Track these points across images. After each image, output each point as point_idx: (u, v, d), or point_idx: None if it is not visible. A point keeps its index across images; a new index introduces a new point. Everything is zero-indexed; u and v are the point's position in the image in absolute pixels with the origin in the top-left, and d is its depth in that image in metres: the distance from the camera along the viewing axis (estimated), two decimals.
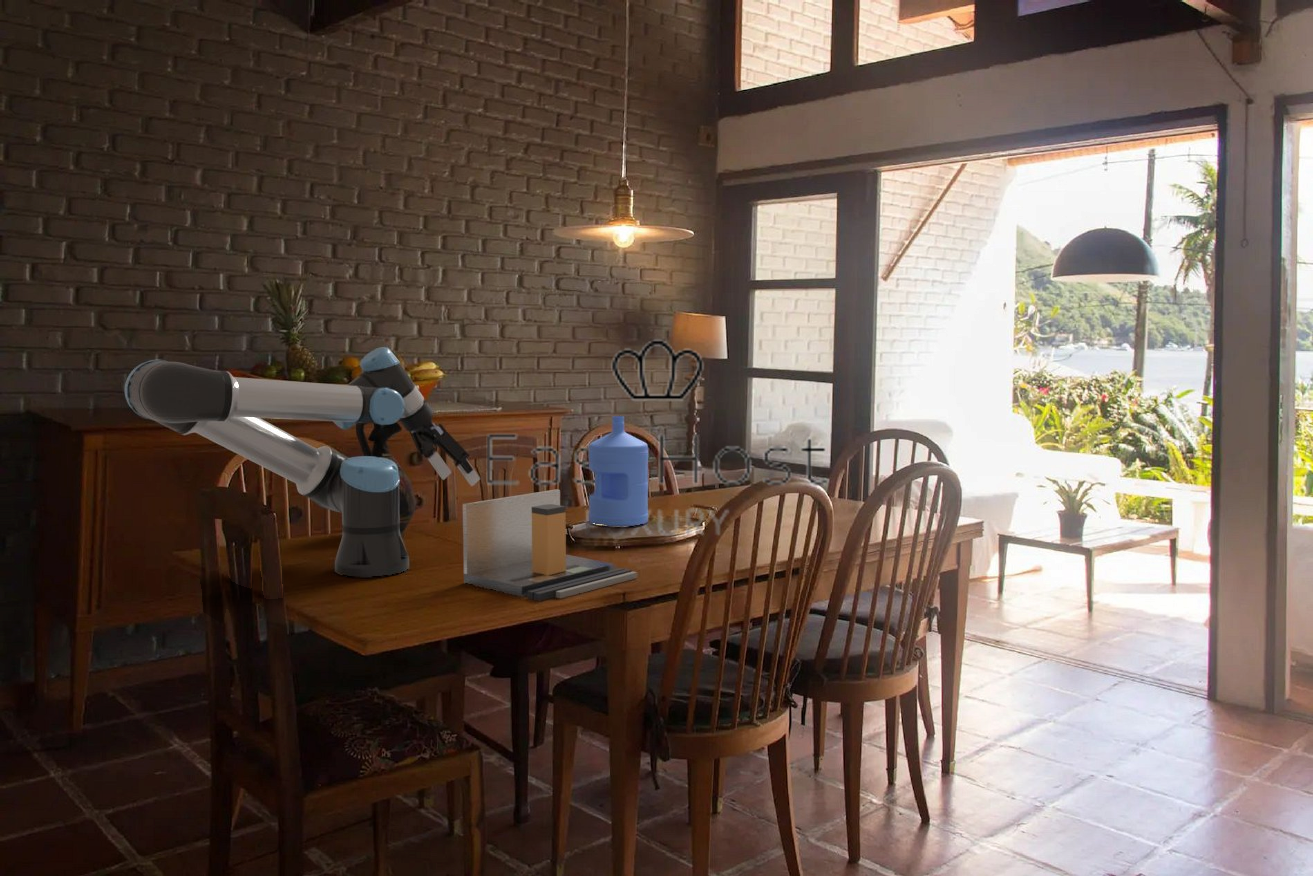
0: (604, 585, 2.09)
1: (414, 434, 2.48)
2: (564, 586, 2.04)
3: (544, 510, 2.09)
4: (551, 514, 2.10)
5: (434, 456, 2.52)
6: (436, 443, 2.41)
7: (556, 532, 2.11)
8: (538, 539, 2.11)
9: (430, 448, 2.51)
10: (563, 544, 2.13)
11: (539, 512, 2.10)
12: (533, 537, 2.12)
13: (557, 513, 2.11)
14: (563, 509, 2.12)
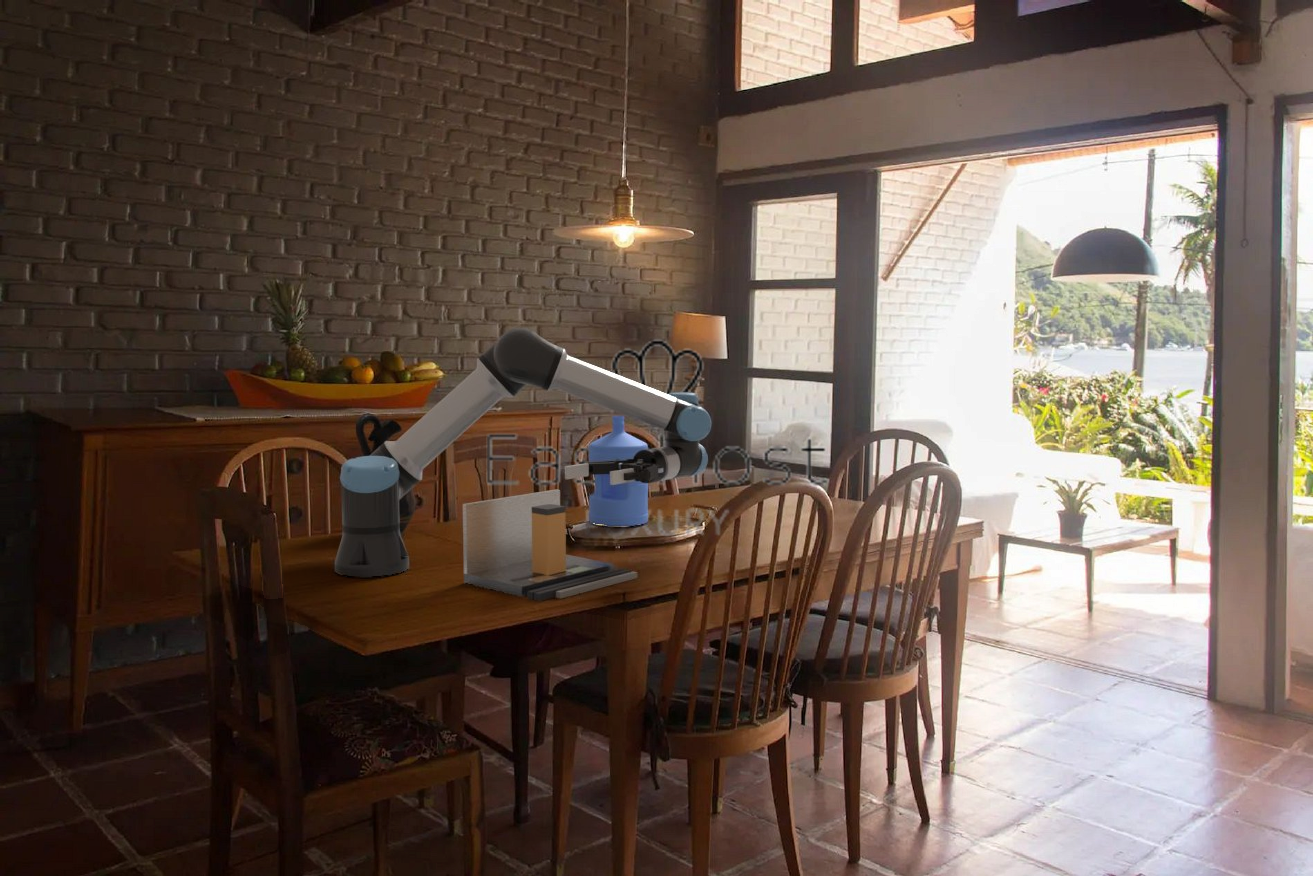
0: (604, 585, 2.09)
1: None
2: (564, 586, 2.04)
3: (544, 510, 2.09)
4: (551, 514, 2.10)
5: (587, 470, 2.29)
6: (642, 464, 2.27)
7: (556, 532, 2.11)
8: (538, 539, 2.11)
9: (597, 470, 2.30)
10: (563, 544, 2.13)
11: (539, 512, 2.10)
12: (533, 537, 2.12)
13: (557, 513, 2.11)
14: (563, 509, 2.12)
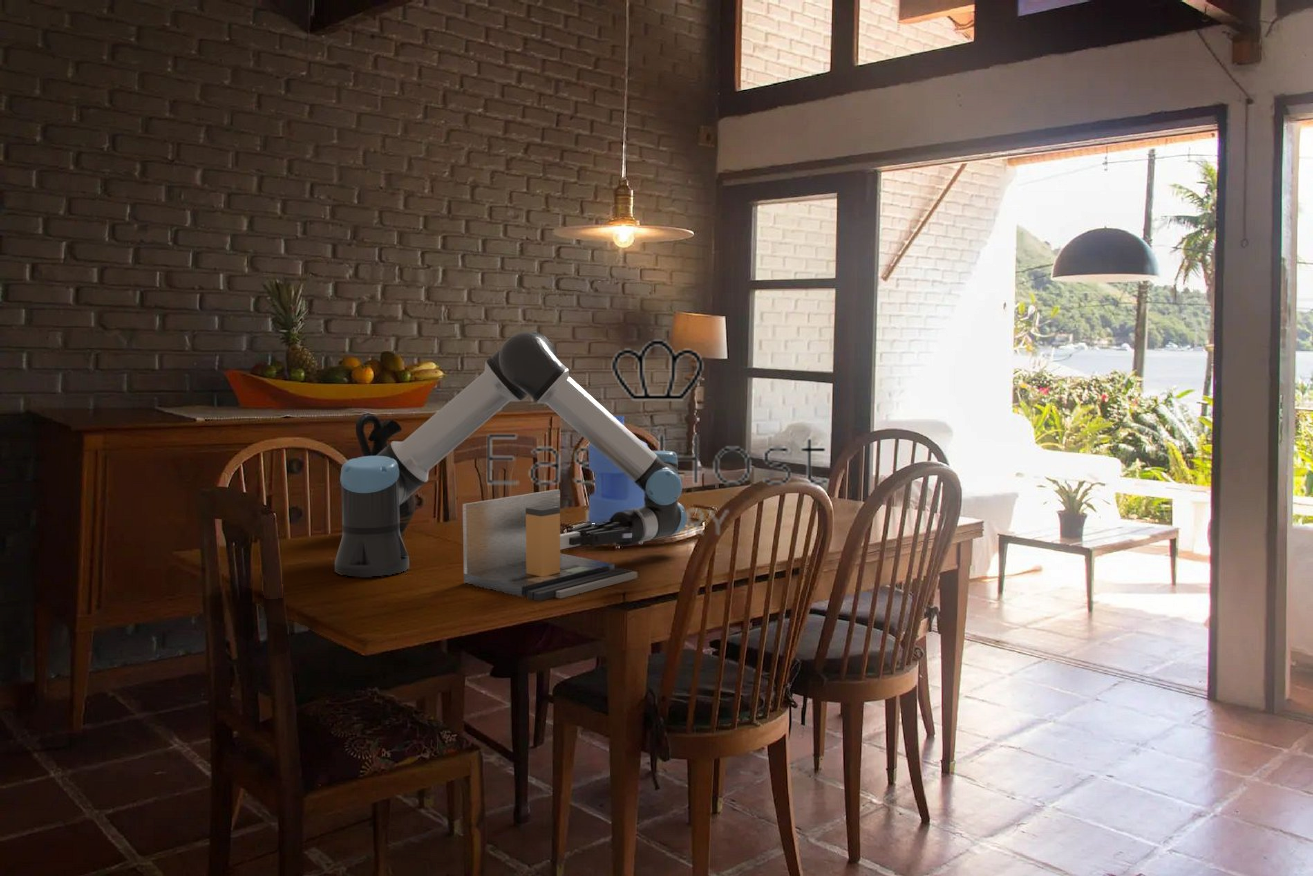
0: (604, 585, 2.09)
1: (590, 526, 2.27)
2: (564, 586, 2.04)
3: (538, 511, 2.08)
4: (545, 515, 2.08)
5: None
6: (607, 528, 2.22)
7: (550, 533, 2.10)
8: (532, 540, 2.10)
9: None
10: (557, 545, 2.11)
11: (533, 513, 2.09)
12: (527, 538, 2.10)
13: (551, 514, 2.09)
14: (558, 510, 2.11)
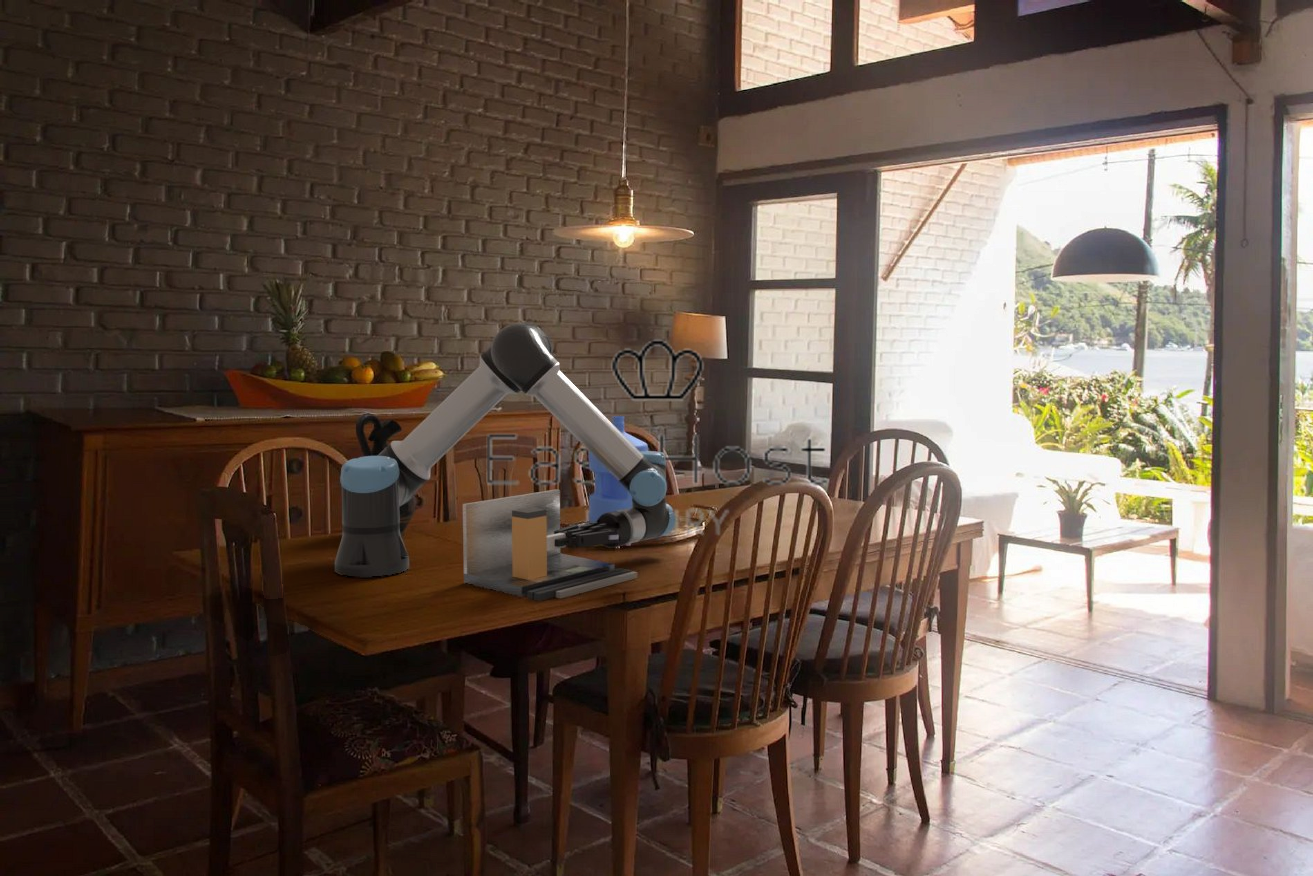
0: (604, 585, 2.09)
1: (576, 527, 2.24)
2: (564, 586, 2.04)
3: (524, 513, 2.05)
4: (532, 518, 2.06)
5: None
6: (593, 529, 2.20)
7: (536, 536, 2.07)
8: (518, 543, 2.07)
9: None
10: (544, 548, 2.09)
11: (519, 516, 2.06)
12: (513, 541, 2.08)
13: (538, 517, 2.07)
14: (544, 512, 2.08)
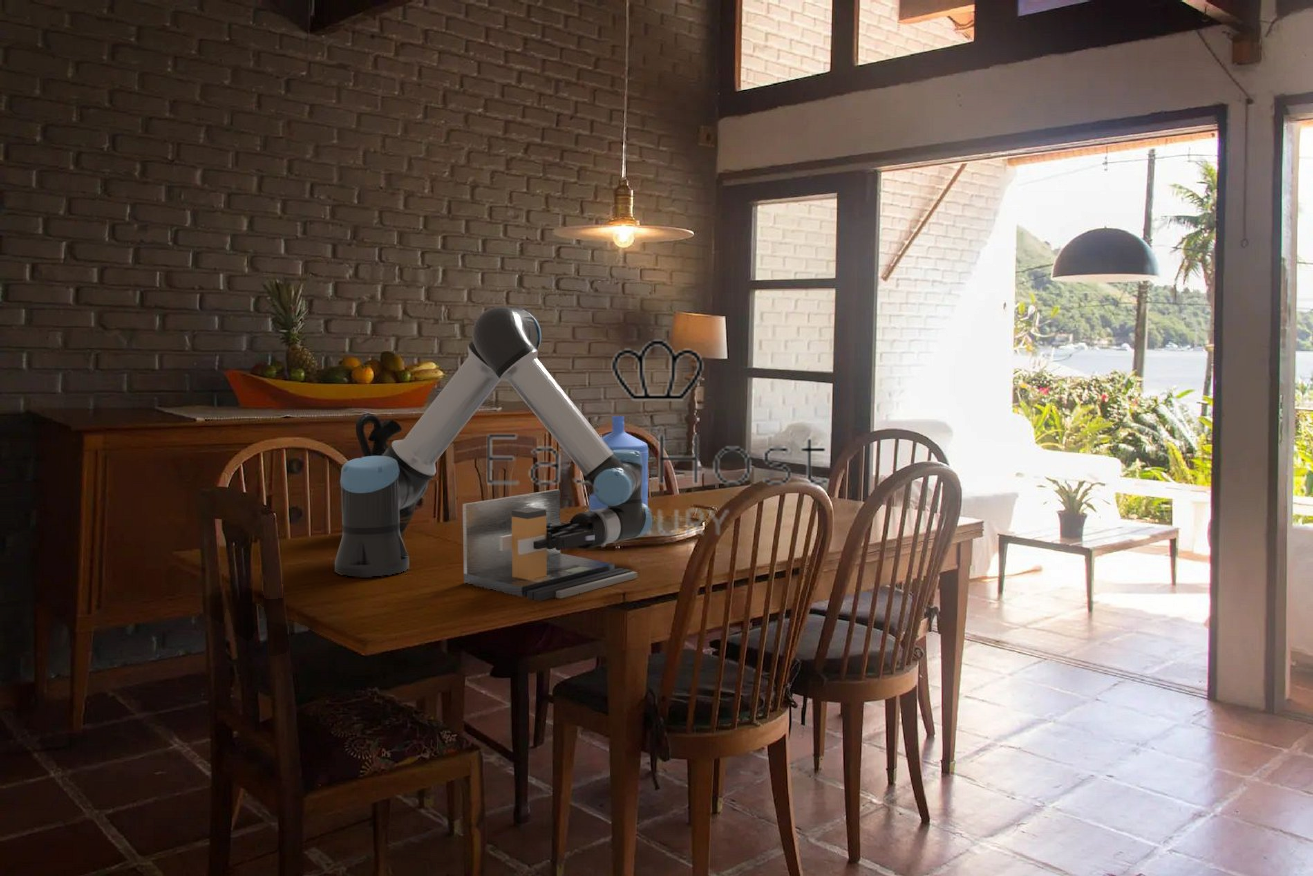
0: (604, 585, 2.09)
1: (548, 527, 2.19)
2: (564, 586, 2.04)
3: (524, 514, 2.05)
4: (531, 518, 2.06)
5: None
6: (569, 530, 2.13)
7: (536, 536, 2.07)
8: None
9: None
10: None
11: (519, 516, 2.06)
12: (513, 541, 2.08)
13: (537, 517, 2.07)
14: (544, 512, 2.08)
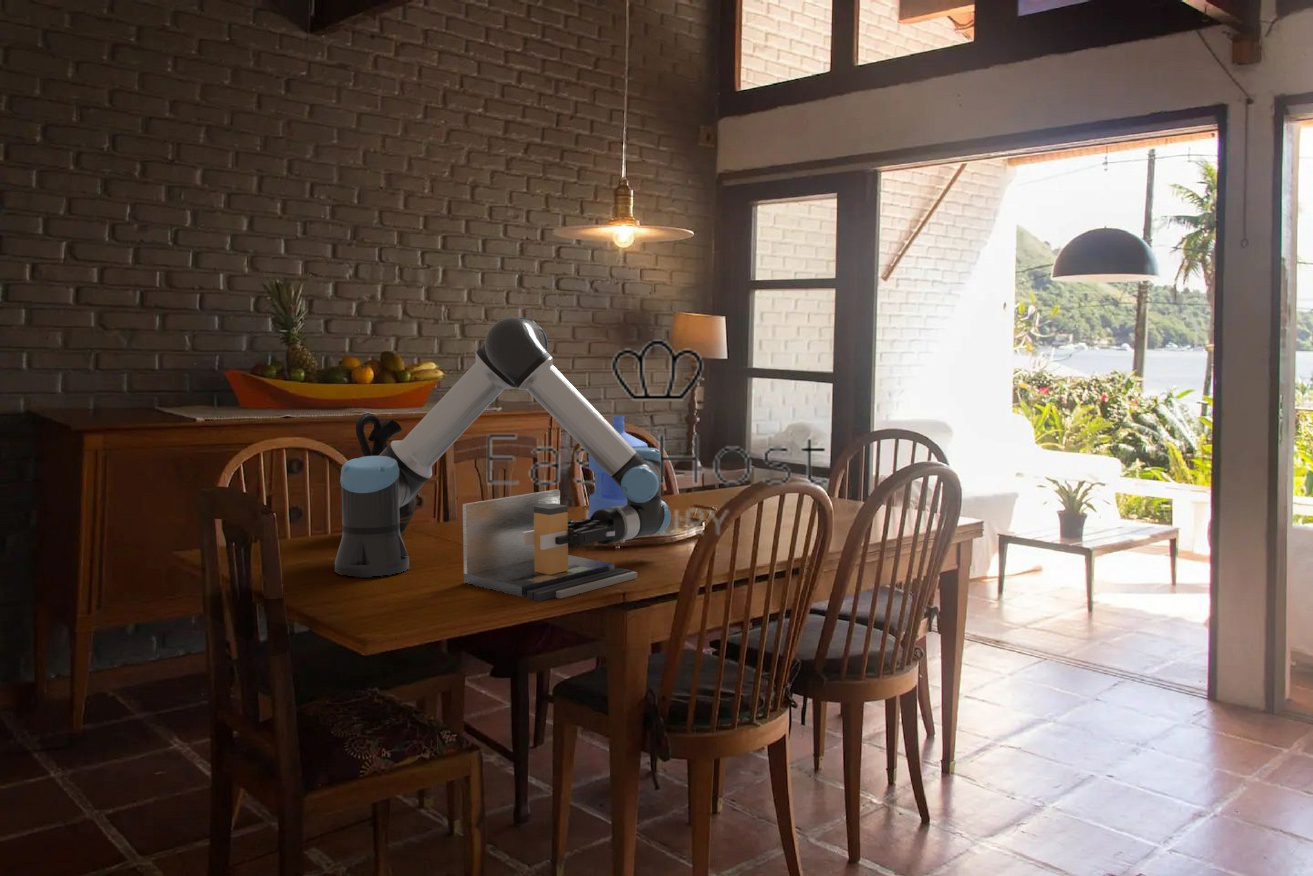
0: (604, 585, 2.09)
1: (569, 523, 2.23)
2: (564, 586, 2.04)
3: (546, 510, 2.09)
4: (553, 514, 2.10)
5: None
6: (590, 526, 2.17)
7: (558, 531, 2.11)
8: None
9: None
10: None
11: (541, 512, 2.10)
12: (535, 537, 2.12)
13: (559, 513, 2.11)
14: (566, 508, 2.12)
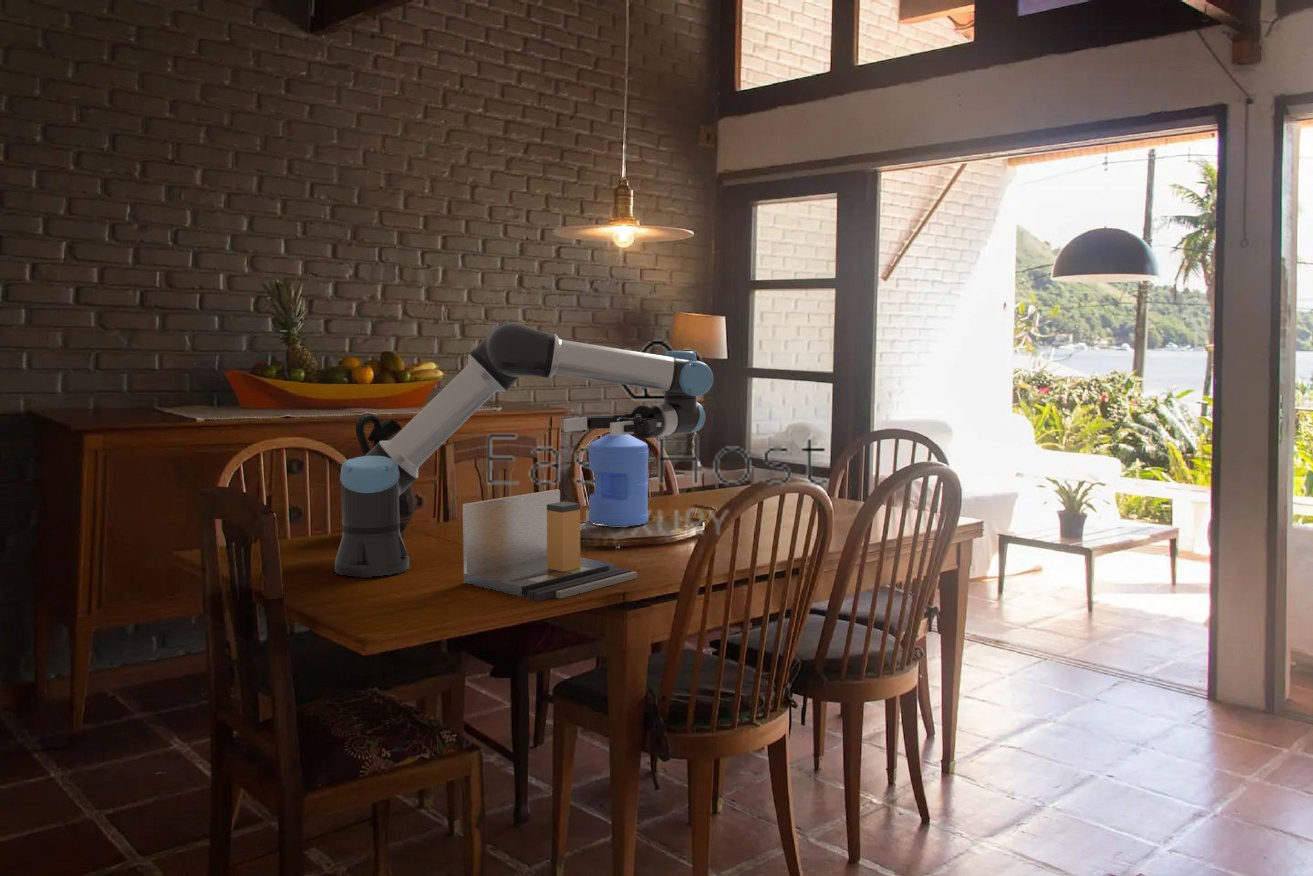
0: (604, 585, 2.09)
1: None
2: (564, 586, 2.04)
3: (559, 507, 2.12)
4: (566, 511, 2.13)
5: (585, 424, 2.32)
6: (640, 418, 2.30)
7: (571, 529, 2.14)
8: (553, 536, 2.14)
9: (595, 424, 2.34)
10: (578, 541, 2.16)
11: (554, 509, 2.13)
12: (548, 534, 2.15)
13: (572, 510, 2.14)
14: (578, 506, 2.15)
